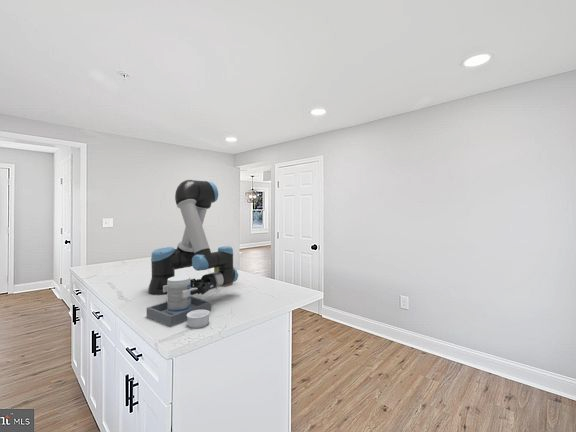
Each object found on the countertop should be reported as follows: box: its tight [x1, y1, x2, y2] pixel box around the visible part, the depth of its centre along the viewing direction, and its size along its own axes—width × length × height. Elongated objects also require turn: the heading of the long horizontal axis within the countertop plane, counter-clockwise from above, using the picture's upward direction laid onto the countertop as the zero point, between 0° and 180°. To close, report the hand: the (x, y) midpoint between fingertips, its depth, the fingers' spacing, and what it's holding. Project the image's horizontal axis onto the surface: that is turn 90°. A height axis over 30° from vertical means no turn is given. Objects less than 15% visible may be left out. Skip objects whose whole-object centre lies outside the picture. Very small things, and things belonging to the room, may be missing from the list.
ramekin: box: [187, 310, 211, 329], centre depth 112 cm, size 9×9×4 cm
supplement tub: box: [166, 275, 192, 315], centre depth 122 cm, size 10×10×15 cm
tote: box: [146, 296, 212, 327], centre depth 122 cm, size 17×20×4 cm
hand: (172, 291), depth 119 cm, fingers open, 13 cm apart
